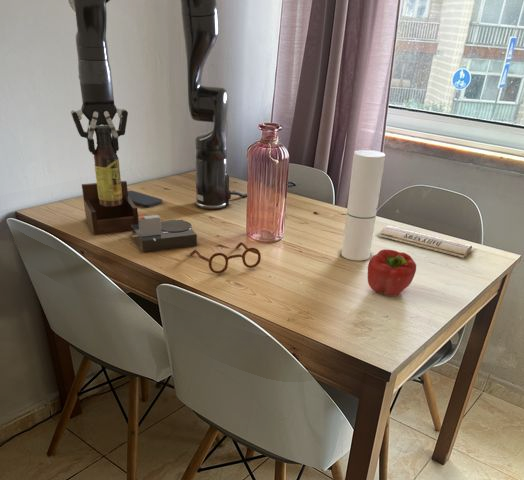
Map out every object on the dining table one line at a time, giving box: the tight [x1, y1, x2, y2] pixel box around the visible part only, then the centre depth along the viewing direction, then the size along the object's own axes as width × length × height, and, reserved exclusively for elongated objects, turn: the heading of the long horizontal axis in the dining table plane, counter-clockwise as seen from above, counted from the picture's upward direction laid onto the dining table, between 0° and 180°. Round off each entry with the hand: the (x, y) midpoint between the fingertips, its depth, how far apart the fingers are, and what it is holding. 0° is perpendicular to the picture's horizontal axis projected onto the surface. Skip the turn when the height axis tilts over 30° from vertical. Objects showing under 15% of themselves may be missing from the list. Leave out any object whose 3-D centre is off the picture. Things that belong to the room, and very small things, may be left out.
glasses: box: [189, 241, 262, 275], centre depth 131 cm, size 13×13×5 cm
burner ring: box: [160, 219, 192, 232], centre depth 143 cm, size 9×9×1 cm
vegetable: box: [367, 248, 417, 297], centre depth 119 cm, size 11×10×10 cm
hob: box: [130, 221, 198, 253], centre depth 141 cm, size 16×13×3 cm
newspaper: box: [378, 225, 473, 259], centre depth 148 cm, size 24×7×2 cm, turn 56°
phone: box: [127, 190, 163, 208], centre depth 169 cm, size 7×1×15 cm
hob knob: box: [138, 214, 161, 237], centre depth 136 cm, size 5×2×5 cm, turn 115°
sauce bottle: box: [93, 125, 122, 207], centre depth 143 cm, size 7×6×20 cm
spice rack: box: [81, 180, 139, 235], centre depth 148 cm, size 12×12×10 cm
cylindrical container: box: [341, 149, 386, 261], centre depth 133 cm, size 7×7×25 cm
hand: (104, 152), depth 141 cm, fingers closed on sauce bottle, 4 cm apart
